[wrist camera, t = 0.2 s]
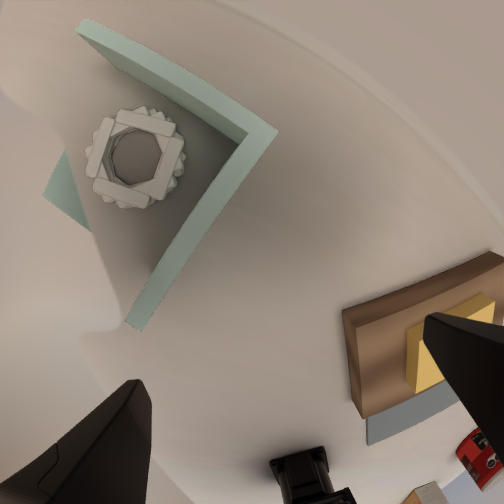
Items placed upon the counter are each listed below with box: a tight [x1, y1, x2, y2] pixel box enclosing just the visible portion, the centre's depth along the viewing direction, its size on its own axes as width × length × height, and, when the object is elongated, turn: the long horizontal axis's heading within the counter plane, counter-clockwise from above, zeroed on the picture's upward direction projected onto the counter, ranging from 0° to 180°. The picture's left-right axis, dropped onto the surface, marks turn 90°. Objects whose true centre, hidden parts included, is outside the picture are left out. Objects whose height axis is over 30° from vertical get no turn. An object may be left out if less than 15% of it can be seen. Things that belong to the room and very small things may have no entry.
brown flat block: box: [342, 251, 504, 419], centre depth 25 cm, size 11×18×3 cm, turn 105°
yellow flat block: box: [406, 293, 495, 394], centre depth 22 cm, size 6×9×2 cm, turn 105°
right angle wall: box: [42, 18, 279, 332], centre depth 16 cm, size 12×12×8 cm
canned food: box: [456, 427, 504, 492], centre depth 30 cm, size 8×8×11 cm
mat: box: [367, 381, 460, 446], centre depth 29 cm, size 10×17×1 cm, turn 105°
